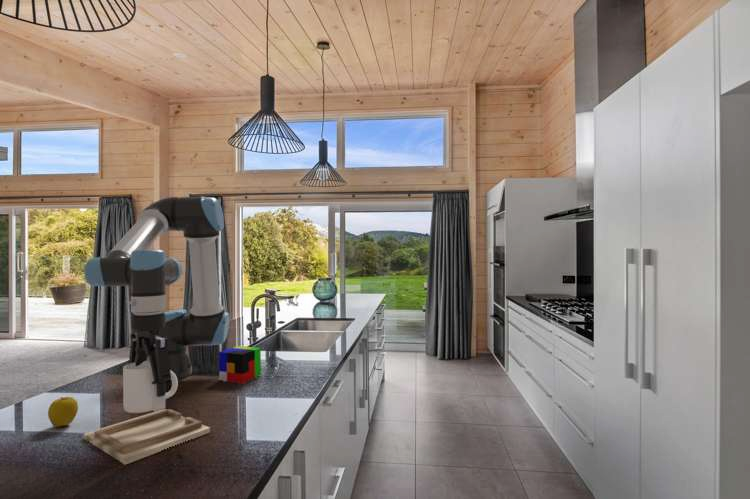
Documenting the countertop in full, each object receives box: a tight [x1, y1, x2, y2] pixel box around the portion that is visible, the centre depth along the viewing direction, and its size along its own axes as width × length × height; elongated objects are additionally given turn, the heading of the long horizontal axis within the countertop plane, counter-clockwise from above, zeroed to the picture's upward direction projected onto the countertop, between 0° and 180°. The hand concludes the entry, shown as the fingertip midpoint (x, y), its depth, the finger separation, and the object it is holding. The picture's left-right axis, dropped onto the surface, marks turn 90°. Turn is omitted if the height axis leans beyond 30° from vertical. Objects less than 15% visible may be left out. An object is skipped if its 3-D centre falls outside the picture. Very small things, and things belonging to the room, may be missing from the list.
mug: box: [122, 360, 179, 414], centre depth 106 cm, size 12×8×10 cm
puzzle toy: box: [218, 345, 262, 384], centre depth 155 cm, size 10×10×10 cm
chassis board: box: [83, 408, 211, 465], centre depth 108 cm, size 22×20×2 cm
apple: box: [47, 396, 79, 428], centre depth 114 cm, size 6×6×8 cm
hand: (149, 405), depth 107 cm, fingers closed on mug, 9 cm apart
